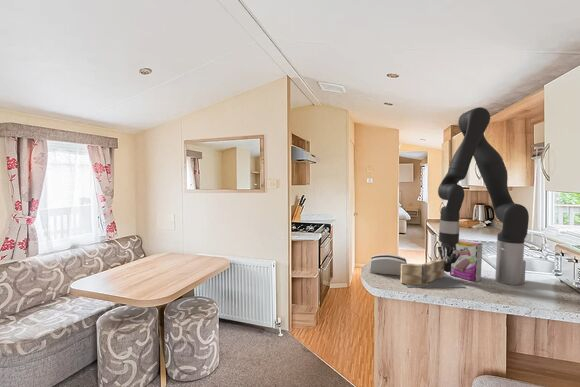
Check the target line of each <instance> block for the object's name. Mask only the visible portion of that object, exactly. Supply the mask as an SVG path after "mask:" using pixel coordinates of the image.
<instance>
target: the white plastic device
mask: <svg viewBox="0 0 580 387" xmlns="http://www.w3.org/2000/svg"><path fill="white" fill-rule="evenodd" d="M401 264H408V263H407V259H406V258H405V257H403V256H400V255H396V254H389V253H383V254H376V255H372V256H371V257H370V264H369V265H370V267H369V273H370V274H380V275H381V274H382V275H392V276H393V275H394V276H397V275H401Z"/></svg>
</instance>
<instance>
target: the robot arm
mask: <svg viewBox="0 0 580 387" xmlns="http://www.w3.org/2000/svg"><path fill="white" fill-rule="evenodd" d="M490 120H491V114H490V112H489V110H488V109H486V108H484V107H481V106H479V107H475V108H471V109H470V110H468V111H465V112H463V113H462V114H461V115H460V116H459V118H458V122H457V123H458V127H459V130H460V131H461V132H460V133H461V134H462V136H463V139H462V141H461V143H460V144H459V146H458V148H457V149H456V151H455V153H454V155H453V156H452V159H451V161H450V164H449V167H448V171H447V173H446V174H445V176H444V177H443V179H441V180H442V181H441V182H440V184H439V186H438V188H437V196H438V197H439V198H440V199H441V200H443V201H447V203H446V205H444V206H442V207H441V209H440V216H439V217H440V218H439V219H440V220H439V226H438V227H439V228H438V229H439V230H438V241H439V242H440V246H437V250H438V254H439V256H440V259H442V260H443V262H444V272H445V273H450V272H451V264H452V263H455V262H456V261H457V259H458V258H459V256H460V254H459V253H457V252H456V244H457V243H459V239H460V212H461V211H460V210H461V209H462V205H463V202H464V200H465V189H464V187H463V186H462V185H460V184H458V183H459V182H460V181H462V180H463V181H464V180H465V179H466V177H467V174H468V171H469V169H470V165H471V162H472V161H473V160H472V159H474V161H475V164H476V166H477V169H478V171H479V174H480V176H481V178H482V180H483V183H484V185H485V188H486V190H487V193H488V194H489V197H490V198H489V199H490V201H491V204H492V208H493V211H494V215H495V217H496V219H497V220H498V221H499V222H501V223H502V227H501V228H502V229H501V231H500V232H498V233H497V237H496V239H497V240H496V257H495V260H496V261H495V281H497V282H499V283H502V284H505V285H506V284H507V285H513V286H519V285H523V284H525V282H526V265H527V264H526V263H527V260H524V256H525V255H524V252H525V239H526V238H527V235H528V230H529V223H530V222H529V221H530V220H529V219H530V215H529V214H530V213H529V210H528V209H527V208H526V207H525V205H523V204H518V203H515V202H514V200H513V199H512V198H513V197H511V194H510V192H509V189H508V170H507V167H506V165H505V163H504V159H503V157H502V156H501V153H499V152H498V151H497V150H496V149H495V148H494V147H493V146H492V145H491V143H489V141H488V140H487V139H486V137H485V135H484V133H485V132H486V130H487V129H488V128H487V127H488V126H489V124H490Z"/></svg>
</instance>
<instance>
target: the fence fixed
mask: <svg viewBox="0 0 580 387" xmlns="http://www.w3.org/2000/svg"><path fill="white" fill-rule="evenodd" d="M426 281H427V265H425V263H422V264H421V263H407V264H401V280H400V283H401V284H404V283H422V284H426Z"/></svg>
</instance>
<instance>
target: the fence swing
mask: <svg viewBox="0 0 580 387" xmlns="http://www.w3.org/2000/svg"><path fill="white" fill-rule="evenodd" d="M424 264H425V265H427V281H426V282H427V283H428V282H431V281H433V280H436V279H439V278H441V277H444V272H445V271H444V262H443V260H442V259H441V258H439V259H436V260H432V261H429V262H425V263H424Z"/></svg>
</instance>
